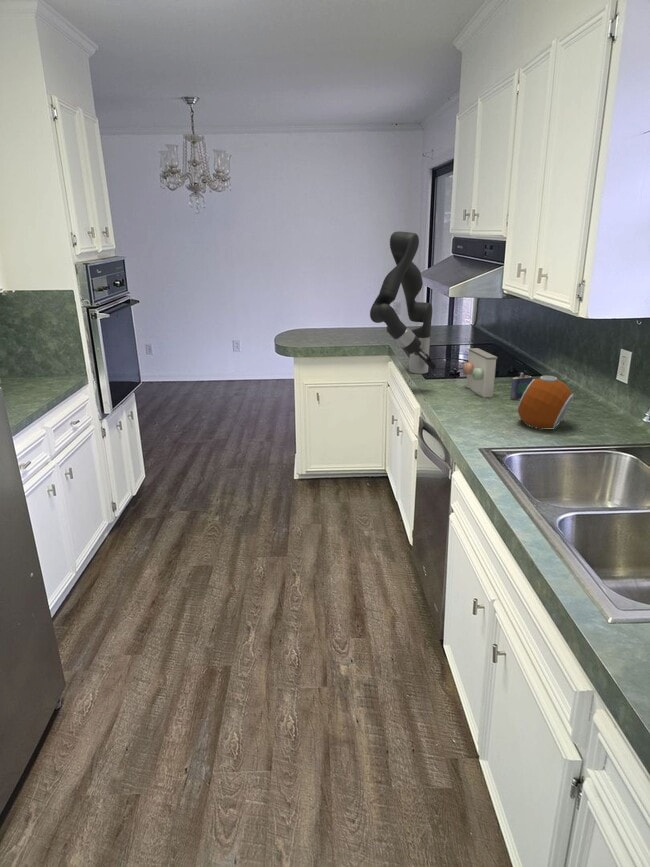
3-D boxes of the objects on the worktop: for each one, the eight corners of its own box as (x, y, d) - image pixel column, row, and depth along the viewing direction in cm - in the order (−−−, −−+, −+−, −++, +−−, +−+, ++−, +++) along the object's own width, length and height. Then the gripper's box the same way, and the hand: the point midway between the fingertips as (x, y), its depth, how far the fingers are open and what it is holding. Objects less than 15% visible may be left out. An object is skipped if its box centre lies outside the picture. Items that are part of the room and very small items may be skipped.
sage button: (471, 378, 244) (472, 366, 243) (490, 377, 246) (491, 366, 244) (476, 381, 240) (477, 369, 238) (496, 380, 241) (497, 368, 239)
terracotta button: (462, 373, 253) (463, 361, 252) (480, 372, 255) (481, 360, 253) (467, 375, 249) (468, 364, 247) (485, 374, 250) (486, 363, 249)
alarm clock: (525, 413, 221) (531, 368, 215) (574, 421, 211) (581, 374, 205) (509, 426, 206) (514, 379, 200) (560, 436, 196) (567, 386, 190)
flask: (512, 400, 237) (515, 374, 233) (507, 398, 239) (510, 373, 236) (531, 398, 240) (534, 372, 236) (526, 396, 242) (529, 371, 239)
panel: (465, 385, 258) (468, 348, 252) (474, 385, 259) (477, 348, 253) (483, 397, 240) (487, 357, 235) (493, 397, 241) (497, 357, 235)
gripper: (419, 336, 235) (446, 364, 241) (409, 331, 247) (435, 357, 254) (406, 350, 236) (433, 377, 242) (396, 343, 248) (422, 370, 255)
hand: (434, 367), depth 248 cm, fingers closed
